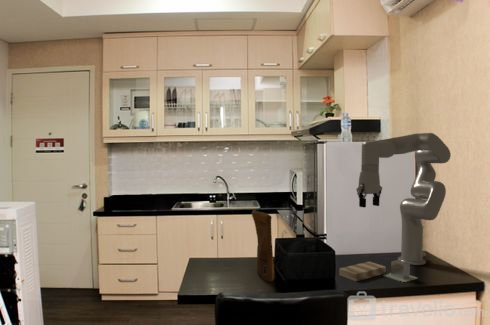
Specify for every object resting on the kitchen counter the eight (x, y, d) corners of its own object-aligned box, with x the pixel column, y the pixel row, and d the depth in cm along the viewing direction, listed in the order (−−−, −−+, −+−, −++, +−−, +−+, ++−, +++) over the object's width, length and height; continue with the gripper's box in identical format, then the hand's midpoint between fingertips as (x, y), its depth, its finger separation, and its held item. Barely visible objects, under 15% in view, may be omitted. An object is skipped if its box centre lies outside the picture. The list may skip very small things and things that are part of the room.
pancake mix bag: (262, 284, 144) (263, 215, 143) (250, 269, 162) (250, 208, 162) (278, 282, 145) (279, 214, 145) (264, 268, 164) (265, 208, 163)
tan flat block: (368, 267, 166) (368, 261, 166) (385, 273, 159) (385, 266, 159) (339, 275, 156) (339, 268, 156) (355, 281, 148) (355, 274, 148)
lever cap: (397, 273, 158) (397, 260, 158) (409, 277, 153) (410, 263, 153) (390, 275, 155) (391, 261, 155) (403, 279, 150) (403, 265, 150)
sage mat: (396, 272, 161) (396, 271, 161) (417, 278, 152) (417, 277, 152) (382, 275, 155) (382, 274, 155) (403, 282, 147) (403, 281, 147)
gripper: (374, 168, 169) (374, 204, 169) (350, 168, 159) (350, 206, 159) (388, 168, 163) (388, 206, 163) (364, 169, 153) (364, 208, 153)
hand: (369, 206), depth 161 cm, fingers open, 9 cm apart
